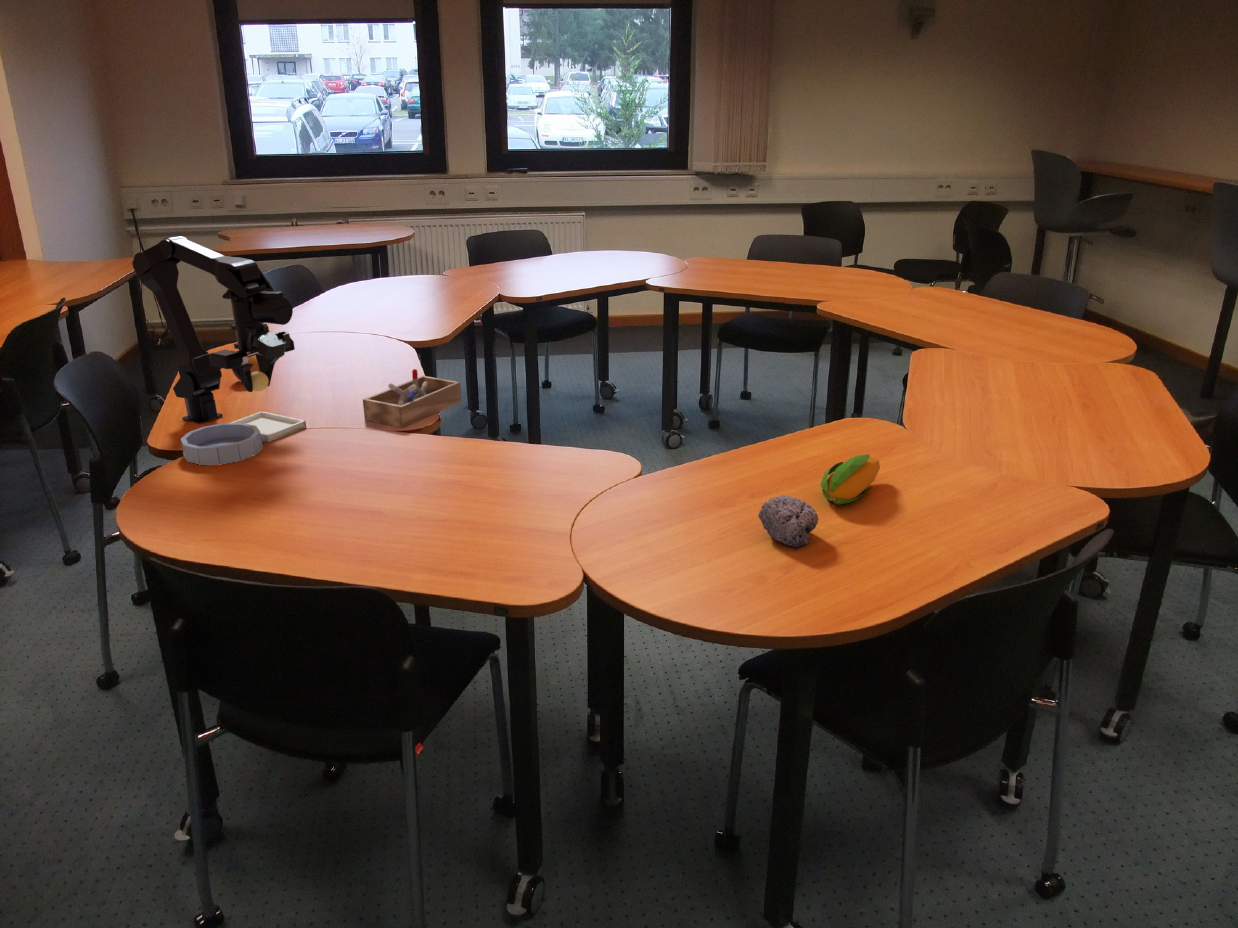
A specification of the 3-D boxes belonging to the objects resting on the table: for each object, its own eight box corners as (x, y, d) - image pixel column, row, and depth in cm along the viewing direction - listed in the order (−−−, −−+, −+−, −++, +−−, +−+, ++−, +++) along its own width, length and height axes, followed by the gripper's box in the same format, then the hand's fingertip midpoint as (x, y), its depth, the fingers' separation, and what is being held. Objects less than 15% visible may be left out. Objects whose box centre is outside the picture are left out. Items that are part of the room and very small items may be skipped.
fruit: (268, 376, 243) (264, 347, 240) (261, 385, 236) (257, 355, 233) (238, 377, 242) (233, 348, 239) (230, 386, 235) (225, 356, 232)
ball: (244, 391, 200) (241, 372, 199) (260, 386, 204) (257, 367, 202) (258, 394, 198) (255, 375, 197) (274, 389, 202) (271, 370, 200)
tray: (224, 431, 203) (223, 425, 203) (262, 417, 212) (261, 411, 212) (268, 442, 197) (267, 435, 196) (306, 427, 206) (305, 420, 205)
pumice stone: (821, 561, 152) (810, 521, 160) (829, 527, 148) (817, 488, 155) (760, 560, 152) (752, 520, 160) (766, 526, 147) (758, 487, 155)
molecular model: (415, 424, 208) (421, 383, 205) (380, 415, 208) (386, 374, 205) (438, 406, 225) (444, 368, 222) (405, 399, 225) (411, 360, 222)
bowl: (169, 457, 189) (165, 440, 188) (228, 435, 201) (225, 419, 200) (218, 470, 182) (215, 453, 181) (276, 446, 195) (274, 430, 193)
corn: (813, 467, 165) (860, 437, 179) (807, 504, 168) (854, 471, 182) (851, 480, 161) (896, 448, 175) (844, 517, 164) (889, 483, 178)
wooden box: (364, 419, 211) (362, 399, 209) (424, 394, 228) (422, 375, 227) (403, 427, 206) (401, 407, 204) (461, 401, 223) (459, 382, 222)
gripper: (239, 333, 184) (250, 406, 190) (307, 315, 199) (316, 383, 205) (202, 327, 189) (214, 398, 195) (271, 310, 204) (281, 376, 210)
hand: (258, 389), depth 201 cm, fingers closed on ball, 4 cm apart
